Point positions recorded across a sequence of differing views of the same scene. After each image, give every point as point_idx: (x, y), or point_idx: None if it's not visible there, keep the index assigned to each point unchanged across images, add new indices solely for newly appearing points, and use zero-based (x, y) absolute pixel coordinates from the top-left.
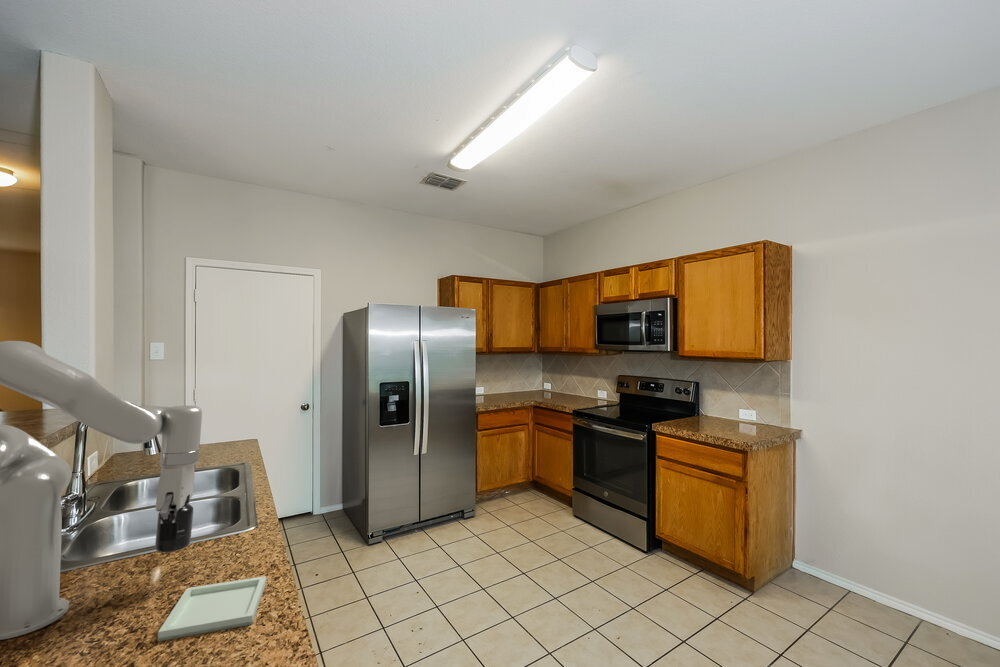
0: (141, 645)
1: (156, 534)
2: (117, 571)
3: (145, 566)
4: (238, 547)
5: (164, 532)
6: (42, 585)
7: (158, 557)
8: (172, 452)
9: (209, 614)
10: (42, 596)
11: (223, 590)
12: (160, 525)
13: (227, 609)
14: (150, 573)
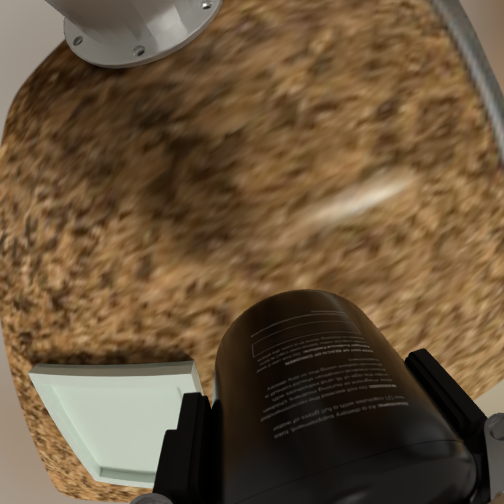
0: (25, 339)
1: (257, 355)
2: (399, 66)
3: (420, 136)
4: (454, 357)
5: (163, 457)
6: (55, 2)
7: (465, 152)
8: None
9: (105, 427)
10: (73, 17)
11: None
12: (221, 449)
13: (124, 448)
14: (372, 174)
